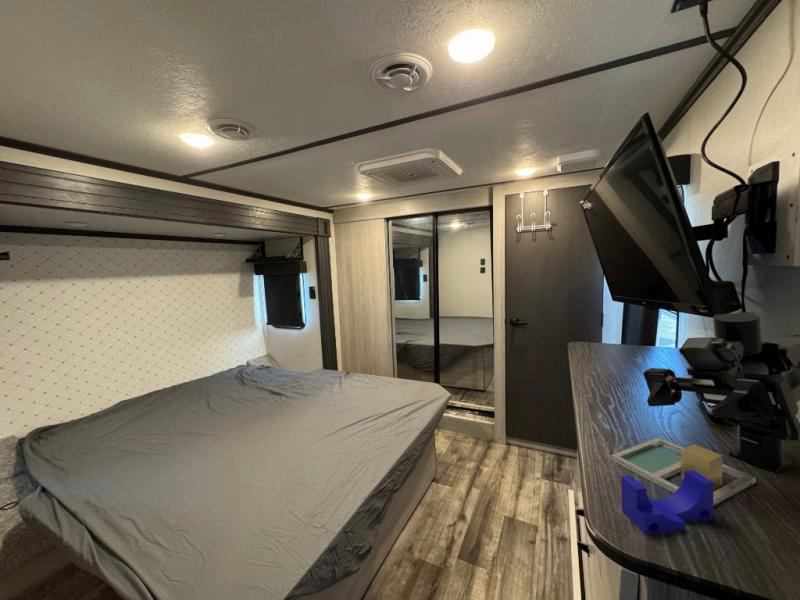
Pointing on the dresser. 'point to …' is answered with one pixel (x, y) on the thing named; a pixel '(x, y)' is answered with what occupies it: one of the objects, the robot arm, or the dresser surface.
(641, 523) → the cable clip
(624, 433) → the dresser surface
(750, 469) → the dresser surface
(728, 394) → the robot arm
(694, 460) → the yellow rectangular block
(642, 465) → the grey divided frame
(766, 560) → the dresser surface
